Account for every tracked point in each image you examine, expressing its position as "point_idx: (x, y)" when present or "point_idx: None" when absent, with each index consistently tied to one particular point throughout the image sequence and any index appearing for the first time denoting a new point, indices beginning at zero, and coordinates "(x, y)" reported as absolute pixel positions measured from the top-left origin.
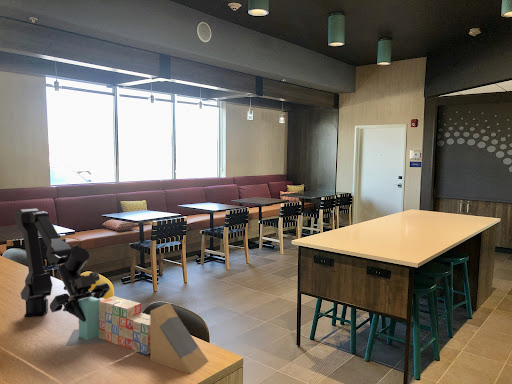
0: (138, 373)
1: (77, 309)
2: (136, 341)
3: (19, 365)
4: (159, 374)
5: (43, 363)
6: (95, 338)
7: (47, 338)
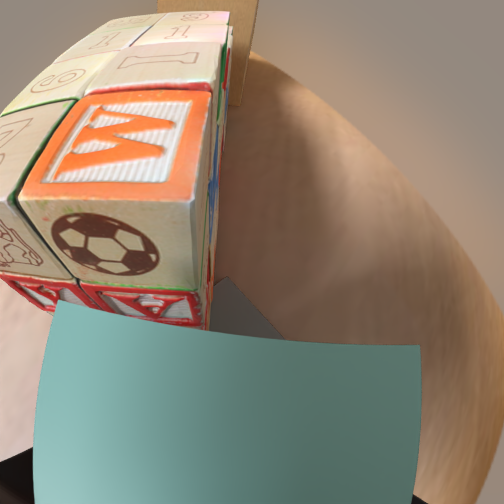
0: (304, 103)
1: None
2: (226, 111)
3: (491, 393)
4: (278, 80)
5: (459, 350)
6: None
7: None
